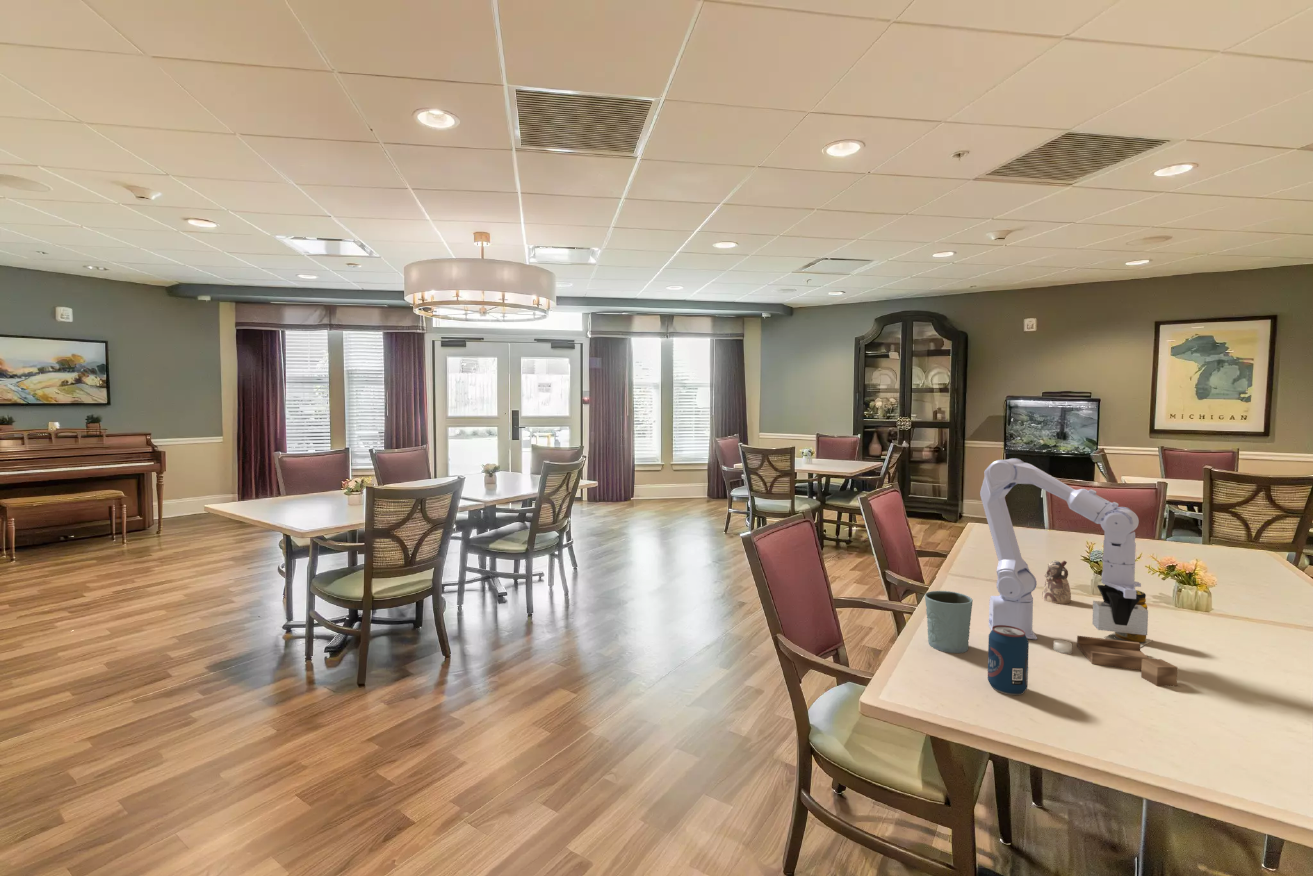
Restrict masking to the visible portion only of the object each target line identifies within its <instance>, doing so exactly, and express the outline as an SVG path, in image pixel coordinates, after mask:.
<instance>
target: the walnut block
mask: <svg viewBox="0 0 1313 876" xmlns="http://www.w3.org/2000/svg"><path fill="white" fill-rule="evenodd" d="M1140 673H1141V675H1140V676H1141V679H1144V680H1146V682H1149V683H1151V684H1152V685H1154V686H1156V687H1178V666H1176V665H1174V664H1172V663H1170V662H1168V661H1166V660H1164V659H1161V658H1159V659H1158V658H1153V659H1142V669H1141V670H1140Z"/></svg>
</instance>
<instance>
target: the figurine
mask: <svg viewBox="0 0 1313 876" xmlns="http://www.w3.org/2000/svg"><path fill="white" fill-rule="evenodd" d="M1067 563H1068V562H1067V561H1066V560H1062V561H1059V560H1053V561H1051V562H1050V563H1048V564H1047V571H1046V573H1044V574H1043V576H1044V577H1045V581H1044V586H1043V590H1042V594H1041V595H1042V597H1041V599H1042V600H1043V601H1045V602H1048V603H1051V604H1057V605H1067V604H1070V603H1071V599H1072V593H1071V588H1070V583H1069V581H1068V577H1069V570H1068V569H1067V568H1066V567H1065V566H1066V565H1067Z"/></svg>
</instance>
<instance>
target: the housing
mask: <svg viewBox="0 0 1313 876" xmlns="http://www.w3.org/2000/svg"><path fill="white" fill-rule="evenodd" d="M1148 618H1149V610H1148V608H1147V609H1145V608H1144V607H1142V606H1141V605H1135V607H1134V608H1133V610H1132V613H1131V615H1130V619H1129V622H1128V624H1127V626H1125V625H1116V624H1115V622H1114V618H1113V611H1112V605H1111V602H1107V601H1104V600H1102V601H1100V600H1099V601H1098V600H1093V601H1092V624H1091V625H1092V626H1094V627H1095V628H1096V629H1097V630H1098V631H1104V632H1105V631H1106V632H1113V633H1115V632H1122V633H1131V634H1140V635H1146V636H1148V625H1149V622H1148V621H1149V619H1148Z"/></svg>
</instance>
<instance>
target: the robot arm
mask: <svg viewBox="0 0 1313 876" xmlns="http://www.w3.org/2000/svg"><path fill="white" fill-rule="evenodd" d="M983 474H984V477H983V480H982V485H981V487H980V492H979V495H980V499H981V503H982V506H983V507H982V508H983V510H984V514H985V518H986V521H987V524H988V527H989V530H990V531H989V532H990V535H991V540H992V542H993V546H994V550H995V552H996V556H997V560H998V561H997V562H998V564H997V567H996V575H997V581H996V584H995V585H996V589H997V591H998V593H999V595H990V596H989V604H988V605H989V606H988V626H989V628H990V631H992V627H993V626H996V625H1006V626H1012V627H1016V628H1019V629H1021V630H1023V631H1024V632H1025V636H1026V638H1027V639H1029V640H1038V637H1037V635H1036V634H1035V633H1034V631H1033V619H1034V618H1033V617H1034V597H1033V596H1032V593H1033V592H1034V591H1035V590H1036V588H1037V584H1038V583H1037V578H1036V577H1035V574H1034V573H1032V571H1031V570H1030V567H1029V565H1028V563H1027V561H1025V560H1024V559H1023V557H1022V553H1021V551H1020V547H1019V544H1018V539H1017V536H1016V533H1015V529H1014V525H1013V522H1012V519H1011V515H1010V512H1009V507H1008V506H1007V502H1006V497H1007V496H1006V495H1008V494H1009V492H1011V490H1012V488H1014V487H1015V486H1016V485H1018V484H1019V485H1020V484H1021V485H1033V486H1036V487H1037V488H1040V489H1042V490H1044V491H1045V492H1048V493H1049V494H1052V495H1054V496H1056V497H1058V498H1059V499H1061V500H1063V501H1065V502H1066V503H1067V506H1068V508H1069V510H1071V511H1073V512H1075V513H1076V514H1079V515H1080V516H1082V517H1084V518H1086V519H1087V520H1089V521H1091V522H1093V523H1094V524H1097V525H1100V527H1101V528H1102V531H1103V533H1104V537H1103V551H1102V572H1101V580H1100V581H1101V584H1097V586H1096V587H1097V588H1098V590H1099V592H1100V594H1101V597H1102V599H1103V600H1102V601H1107V602H1111V605H1112V611H1113V618H1114V622H1115V624H1116V625H1125V626H1127V624H1128V622H1129V619H1130V615H1131V613H1132V610H1133V608H1134V607H1135V605H1136V604H1137V603H1138V602H1139V600H1140V597H1138V596H1136V587H1138V588H1139V587H1140V588H1141V587H1142V584H1141V582H1139V581H1135V579H1136V578H1135V573H1136V572H1135V571H1136V551H1137V549H1136V545H1137V544H1136V532H1135V531H1136V529H1137V528H1138V526H1139V523H1140V521H1139V517H1138V515H1137V513H1135V512H1134V511H1133V510H1132V509H1131V508H1129V507H1127V506H1126V507H1125V506H1119V503H1118V502H1116V501H1113V502H1111V501H1110V500H1108V499H1105V498H1103V497H1102V496H1100V495H1098V494H1097V493H1098V492H1097V491H1096V490H1094V489H1089V490H1088V489H1086V488H1080V489H1074V488H1073V487H1072V486H1070V485H1068V484H1066V483H1065V482H1062V481H1061V480H1059V479H1057V478H1056V477H1054V476H1052V475H1051V474H1049V473H1047V472H1045V471H1044V470H1042V469H1040V468H1038V467H1036V466H1035V465H1033V464H1031V463H1028V462H1024V461H1023V460H1021V459H1020V458H1016V457H1015V458H1013V457H1012V458H1009V459H997V460H995V461H992V463H990V464H989V465H988V466H987V467H986V469H985V470H984V473H983Z"/></svg>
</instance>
